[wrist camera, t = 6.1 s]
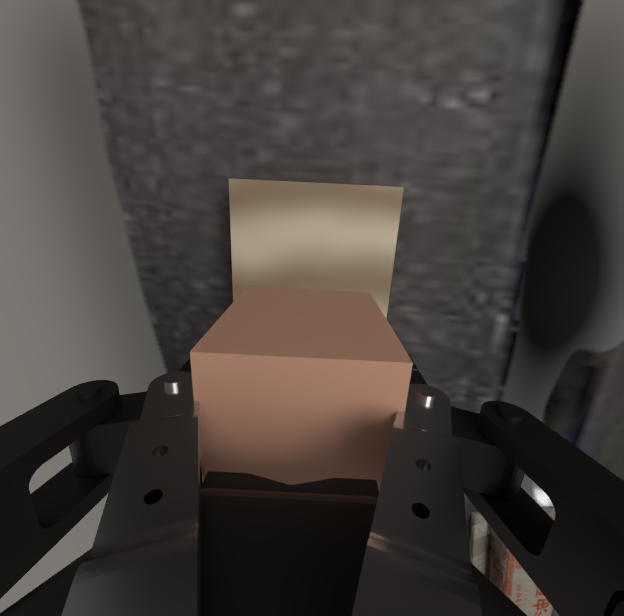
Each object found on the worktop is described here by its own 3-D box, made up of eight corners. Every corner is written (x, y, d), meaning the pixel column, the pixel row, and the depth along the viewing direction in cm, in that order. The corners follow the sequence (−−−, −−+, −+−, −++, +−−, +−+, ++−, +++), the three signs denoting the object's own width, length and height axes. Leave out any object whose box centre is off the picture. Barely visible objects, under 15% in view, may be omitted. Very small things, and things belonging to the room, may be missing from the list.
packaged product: (489, 551, 32) (589, 543, 32) (467, 507, 37) (555, 500, 36) (480, 654, 38) (566, 650, 37) (463, 605, 42) (538, 601, 42)
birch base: (242, 181, 25) (228, 178, 21) (390, 189, 25) (403, 187, 21) (245, 340, 30) (235, 360, 26) (371, 346, 30) (379, 367, 26)
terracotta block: (247, 286, 13) (189, 352, 7) (370, 292, 13) (413, 362, 7) (249, 392, 14) (203, 517, 9) (358, 398, 14) (385, 526, 9)
